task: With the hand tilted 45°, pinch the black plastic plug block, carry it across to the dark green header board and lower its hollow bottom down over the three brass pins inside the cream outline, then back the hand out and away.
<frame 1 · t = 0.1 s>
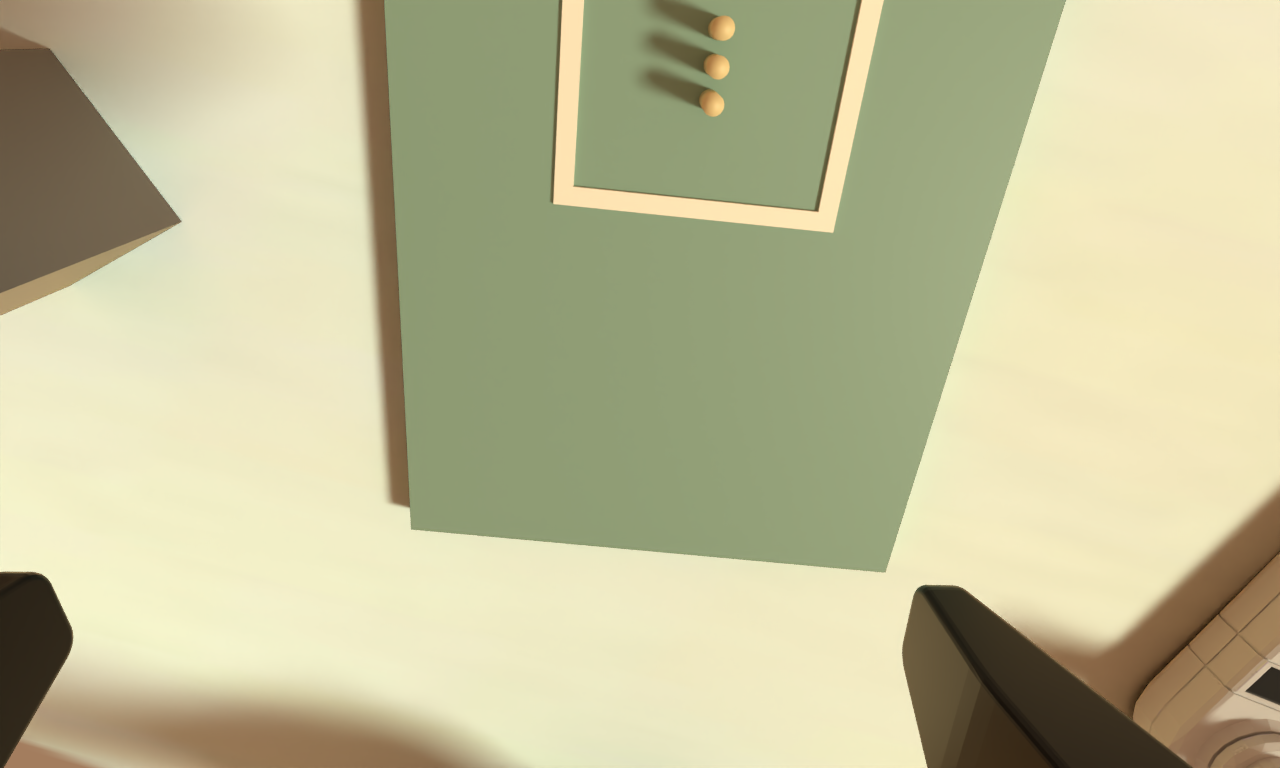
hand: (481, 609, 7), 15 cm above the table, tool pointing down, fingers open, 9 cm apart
plug block: (60, 175, 20), on the table
header board: (710, 63, 18), on the table
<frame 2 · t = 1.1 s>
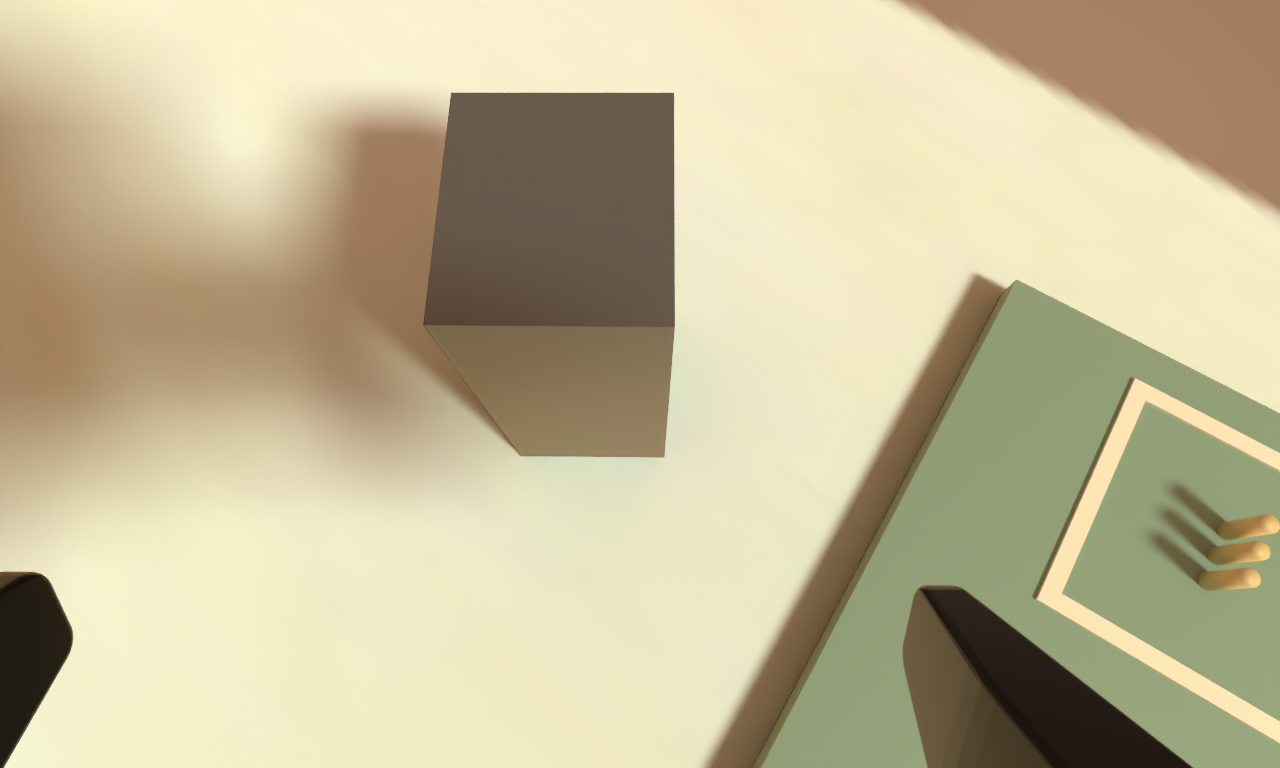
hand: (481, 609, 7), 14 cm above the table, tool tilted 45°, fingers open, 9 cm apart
plug block: (594, 379, 23), on the table
header board: (1190, 559, 21), on the table
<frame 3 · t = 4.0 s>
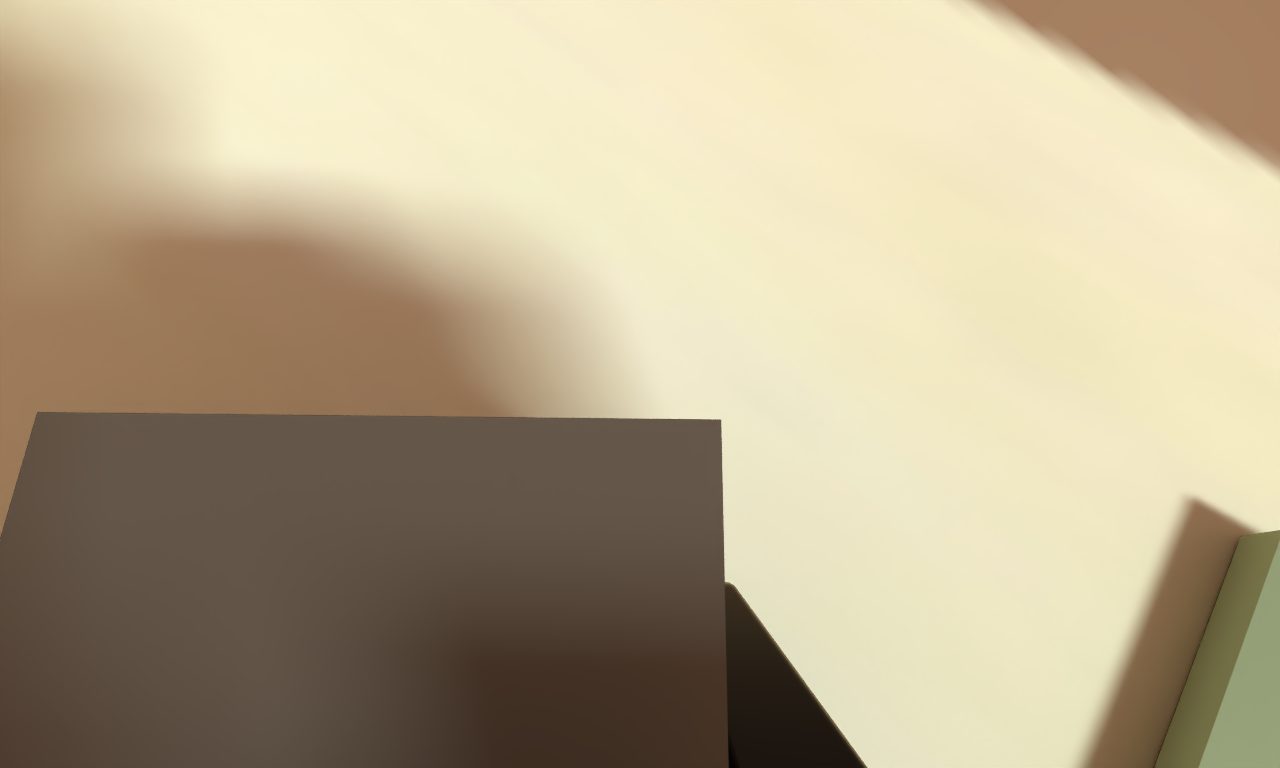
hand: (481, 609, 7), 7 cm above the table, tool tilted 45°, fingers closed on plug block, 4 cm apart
plug block: (553, 696, 13), on the table, touching gripper
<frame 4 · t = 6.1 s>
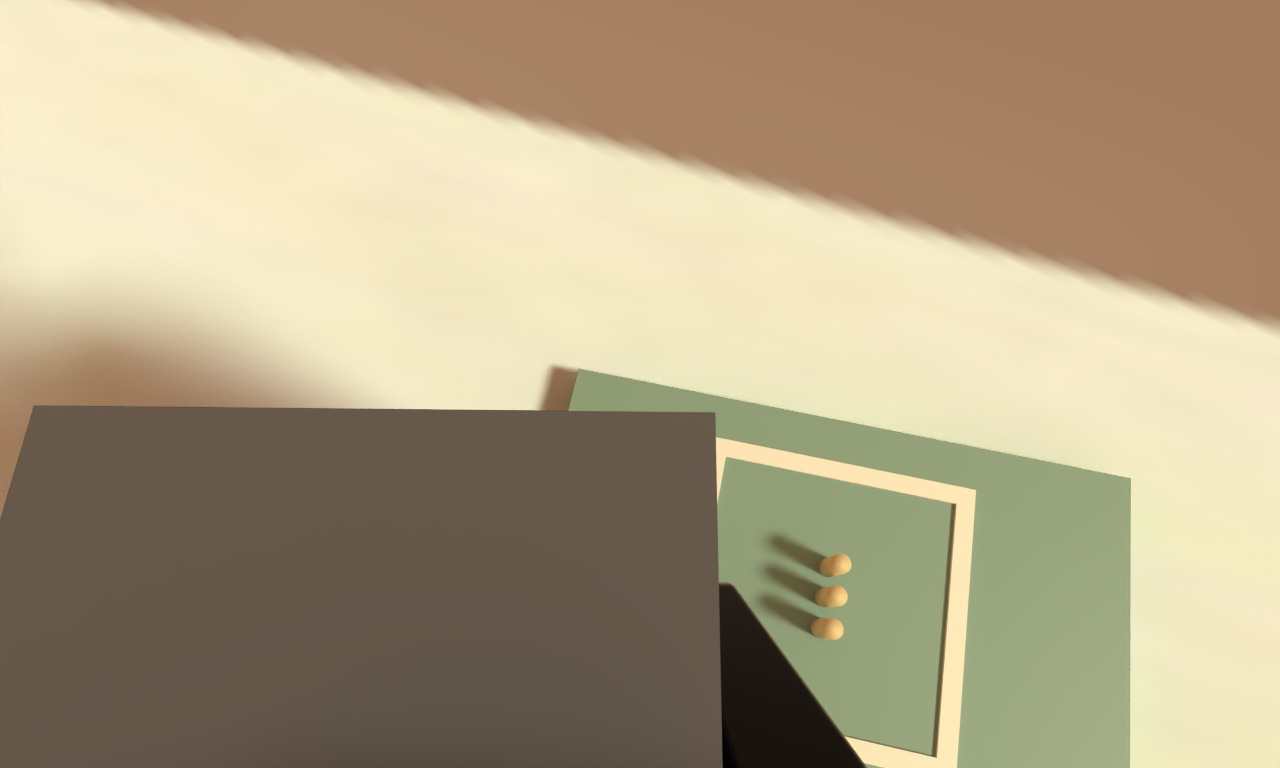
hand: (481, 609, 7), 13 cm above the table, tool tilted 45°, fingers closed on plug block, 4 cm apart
plug block: (552, 693, 13), point 7 cm above the table, touching gripper
header board: (815, 598, 20), on the table
when the fingers open (8 cm above the table, at t = 8.5 s): plug block stays where it is, resting on header board.
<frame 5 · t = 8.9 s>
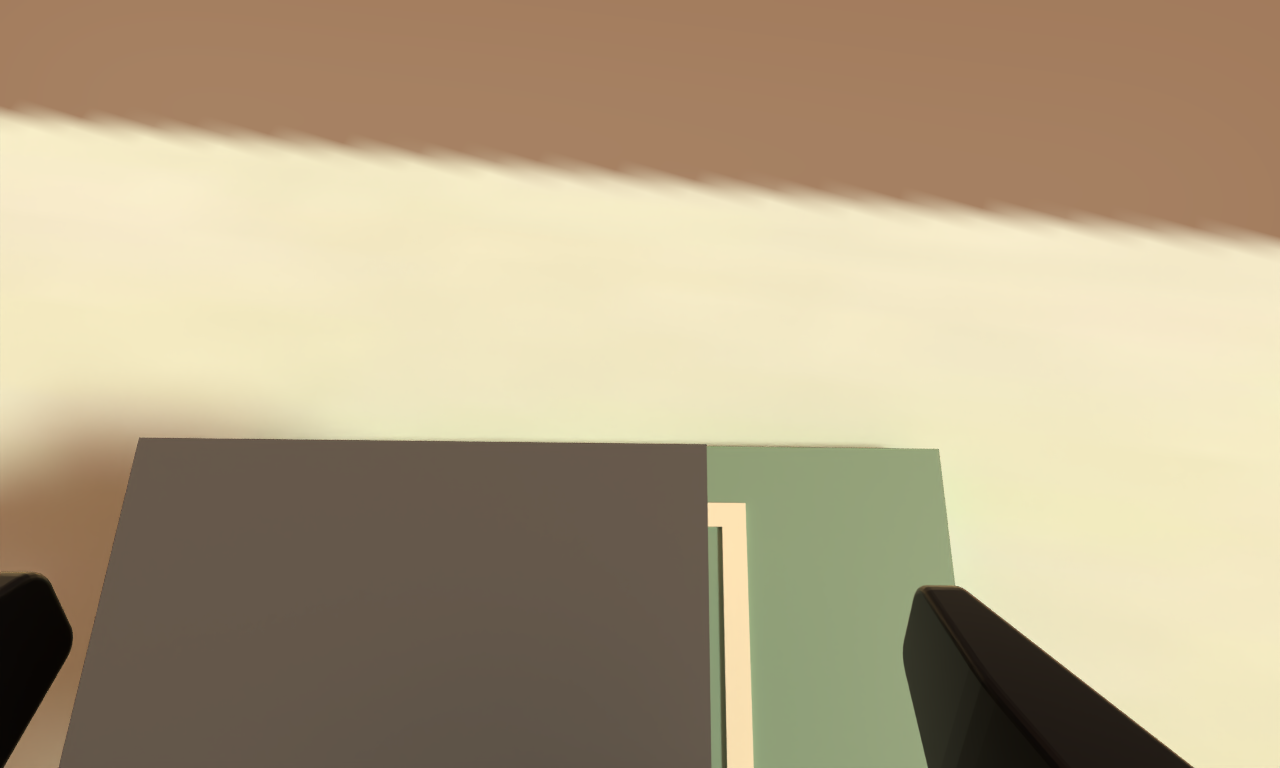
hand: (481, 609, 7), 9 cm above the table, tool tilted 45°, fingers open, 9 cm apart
plug block: (559, 686, 14), point 1 cm above the table, touching header board
header board: (566, 687, 15), on the table
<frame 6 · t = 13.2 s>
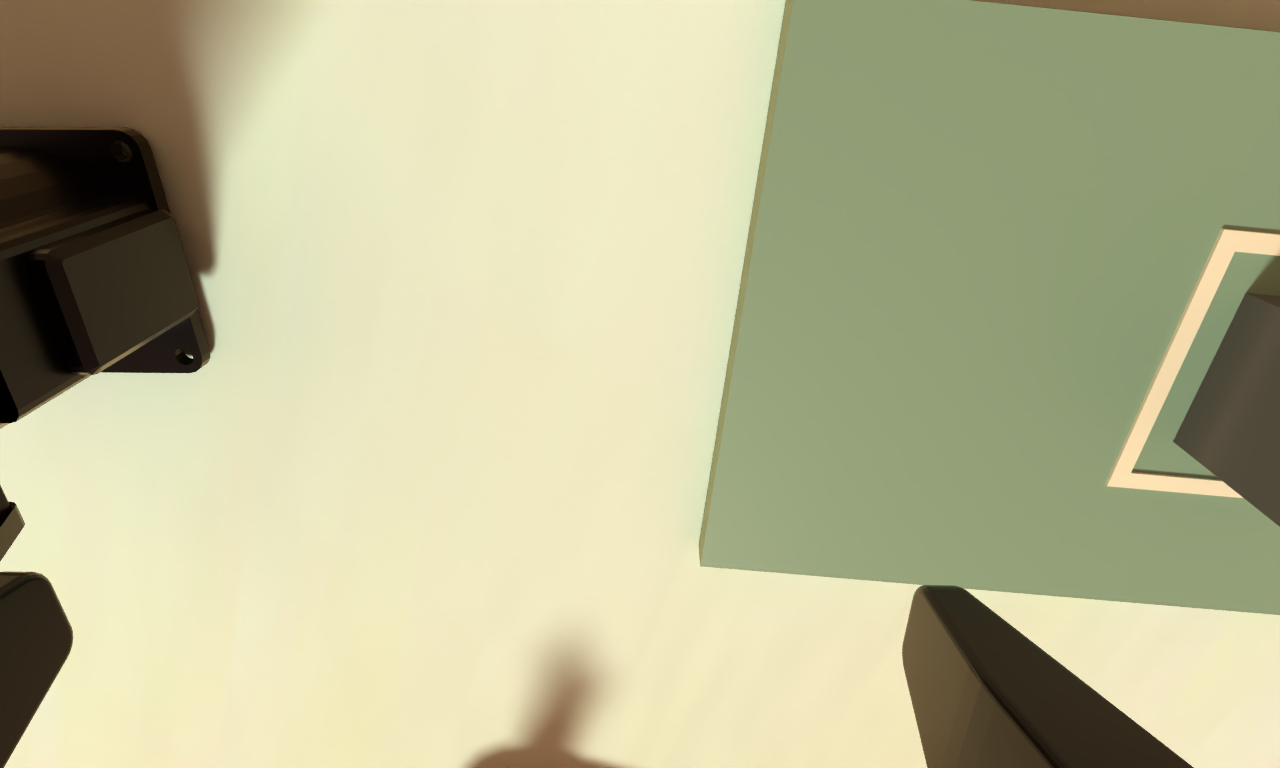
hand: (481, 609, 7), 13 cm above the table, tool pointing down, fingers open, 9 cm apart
header board: (1266, 364, 20), on the table
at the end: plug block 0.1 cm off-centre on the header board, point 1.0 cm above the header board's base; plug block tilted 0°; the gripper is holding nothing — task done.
